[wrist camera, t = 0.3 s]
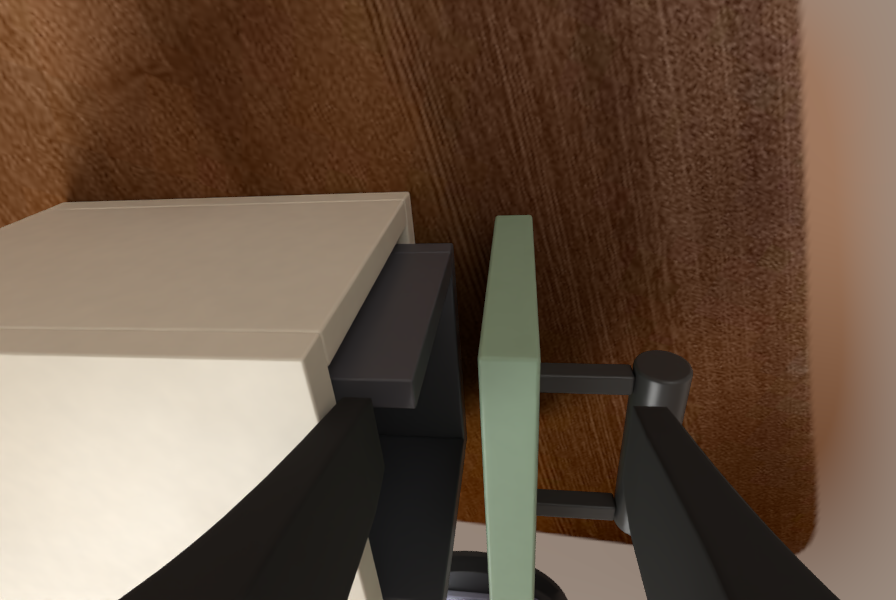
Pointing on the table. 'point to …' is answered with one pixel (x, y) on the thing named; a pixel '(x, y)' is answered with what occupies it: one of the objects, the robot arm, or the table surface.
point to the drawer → (501, 409)
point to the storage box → (166, 371)
